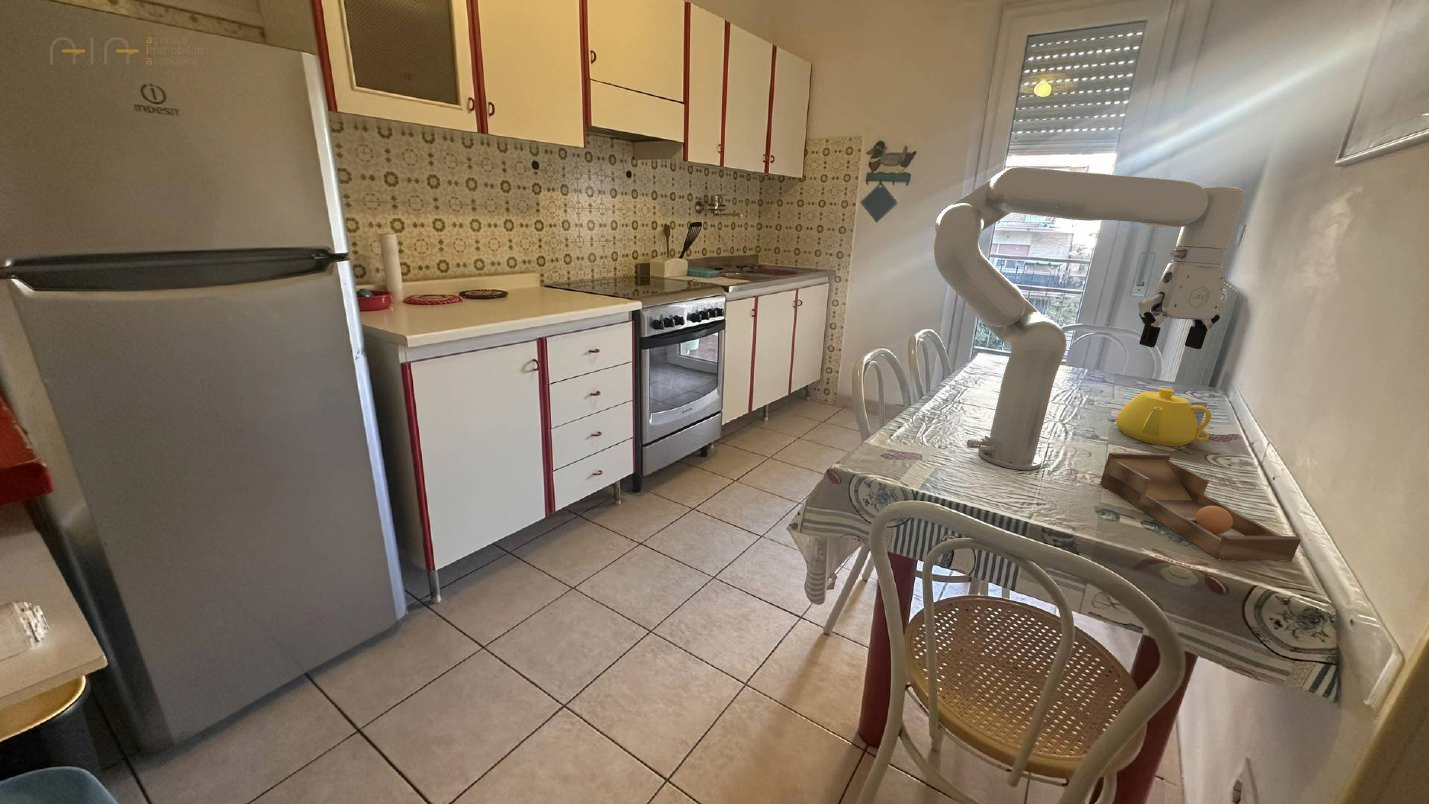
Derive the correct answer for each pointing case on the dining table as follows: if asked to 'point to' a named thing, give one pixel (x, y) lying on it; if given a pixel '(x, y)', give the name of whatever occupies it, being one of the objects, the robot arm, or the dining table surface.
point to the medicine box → (1194, 401)
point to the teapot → (1162, 419)
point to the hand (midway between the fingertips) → (1169, 346)
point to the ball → (1214, 519)
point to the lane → (1189, 507)
